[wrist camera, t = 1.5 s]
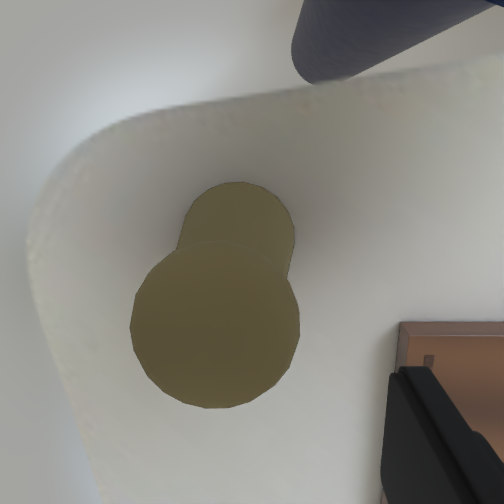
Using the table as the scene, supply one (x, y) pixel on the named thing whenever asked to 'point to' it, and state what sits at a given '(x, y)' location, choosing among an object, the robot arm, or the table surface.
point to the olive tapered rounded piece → (221, 301)
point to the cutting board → (462, 369)
